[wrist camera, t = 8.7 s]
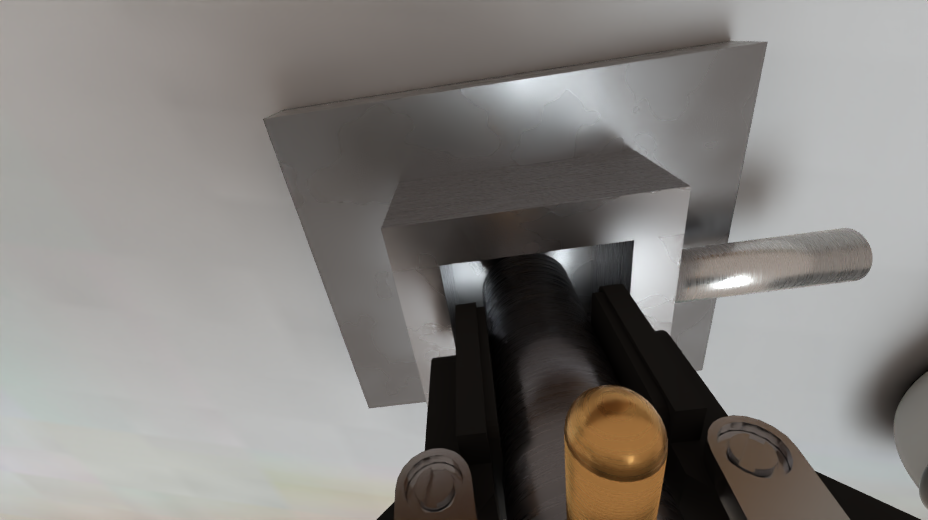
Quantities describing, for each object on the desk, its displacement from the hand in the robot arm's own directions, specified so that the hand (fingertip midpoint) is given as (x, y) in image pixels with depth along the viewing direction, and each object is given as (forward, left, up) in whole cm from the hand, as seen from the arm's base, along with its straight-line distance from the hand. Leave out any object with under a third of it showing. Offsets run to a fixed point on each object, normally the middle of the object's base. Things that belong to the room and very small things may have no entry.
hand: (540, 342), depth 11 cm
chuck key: (0, 0, -3) cm, 3 cm away
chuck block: (+1, 0, -5) cm, 6 cm away
